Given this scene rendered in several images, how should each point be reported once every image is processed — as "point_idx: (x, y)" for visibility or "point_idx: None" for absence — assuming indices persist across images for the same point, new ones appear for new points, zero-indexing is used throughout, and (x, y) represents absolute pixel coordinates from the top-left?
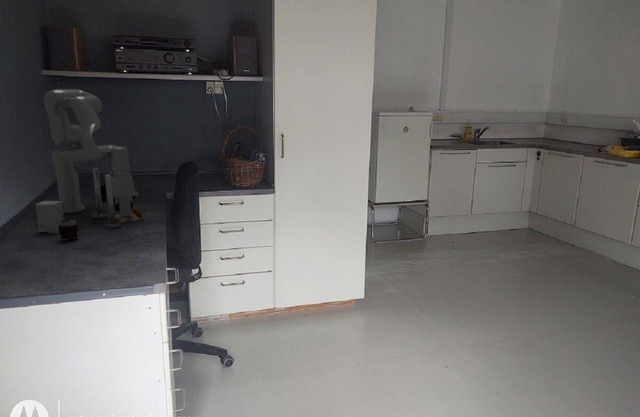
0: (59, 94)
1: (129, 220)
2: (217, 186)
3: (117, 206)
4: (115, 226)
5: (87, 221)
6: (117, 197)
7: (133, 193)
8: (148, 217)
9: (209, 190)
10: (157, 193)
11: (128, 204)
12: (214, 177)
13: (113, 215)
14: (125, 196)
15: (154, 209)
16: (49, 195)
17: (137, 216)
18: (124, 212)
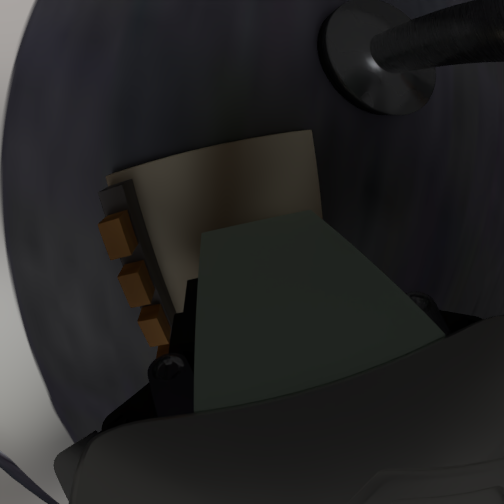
0: None
1: (232, 142)
2: (7, 468)
3: None
4: (365, 2)
5: (451, 274)
6: (480, 323)
7: (94, 468)
8: (72, 231)
9: (6, 459)
10: None
11: (231, 290)
12: (46, 500)
13: (424, 15)
14: (319, 394)
15: (76, 394)
16: None
17: (149, 233)
18: (279, 230)
